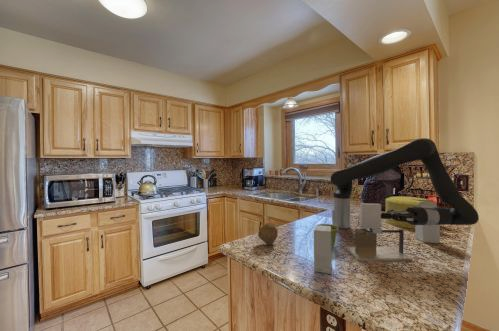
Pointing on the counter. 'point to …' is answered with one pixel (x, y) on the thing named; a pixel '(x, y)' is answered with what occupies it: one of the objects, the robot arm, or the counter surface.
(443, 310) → the counter surface
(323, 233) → the skincare box
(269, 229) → the natural sponge
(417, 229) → the milk carton
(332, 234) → the plant pot
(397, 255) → the pin leaf jig
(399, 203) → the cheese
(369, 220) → the knuckle leaf
